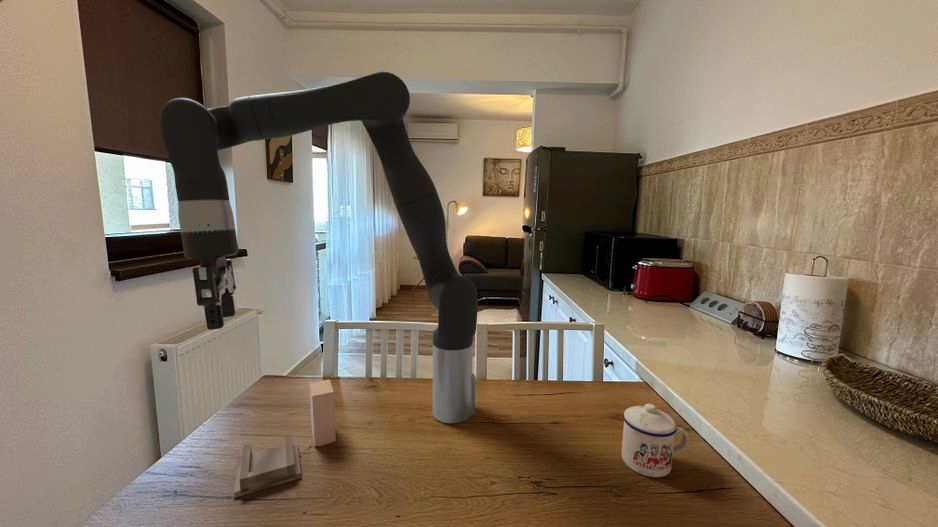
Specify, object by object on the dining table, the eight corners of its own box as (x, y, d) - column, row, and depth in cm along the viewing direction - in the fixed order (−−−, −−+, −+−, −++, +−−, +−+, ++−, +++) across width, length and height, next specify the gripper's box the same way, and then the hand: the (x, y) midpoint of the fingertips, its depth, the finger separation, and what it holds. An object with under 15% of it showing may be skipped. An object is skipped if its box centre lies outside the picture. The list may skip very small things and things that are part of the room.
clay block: (331, 426, 80) (329, 379, 79) (335, 441, 75) (333, 391, 74) (311, 431, 79) (309, 383, 77) (314, 447, 73) (312, 396, 72)
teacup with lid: (630, 478, 66) (635, 418, 64) (613, 446, 75) (617, 392, 73) (698, 481, 65) (705, 420, 64) (673, 448, 74) (678, 395, 73)
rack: (297, 446, 74) (296, 432, 73) (301, 477, 65) (300, 462, 65) (239, 461, 69) (238, 446, 69) (234, 497, 60) (233, 481, 60)
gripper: (224, 227, 56) (239, 329, 58) (242, 226, 69) (254, 310, 71) (164, 231, 53) (182, 337, 56) (195, 229, 67) (208, 315, 69)
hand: (222, 322), depth 64 cm, fingers open, 8 cm apart
